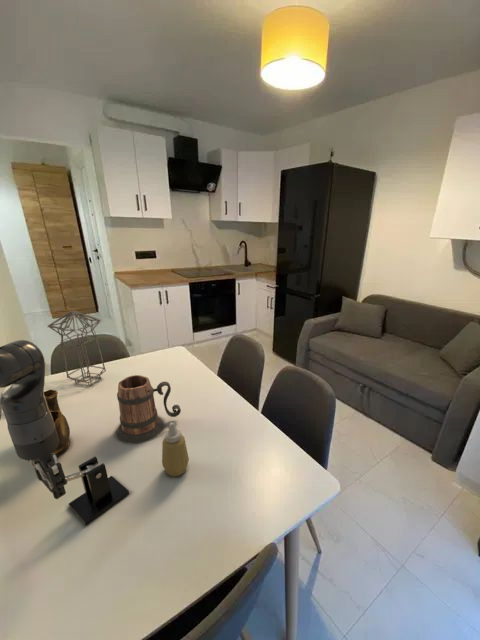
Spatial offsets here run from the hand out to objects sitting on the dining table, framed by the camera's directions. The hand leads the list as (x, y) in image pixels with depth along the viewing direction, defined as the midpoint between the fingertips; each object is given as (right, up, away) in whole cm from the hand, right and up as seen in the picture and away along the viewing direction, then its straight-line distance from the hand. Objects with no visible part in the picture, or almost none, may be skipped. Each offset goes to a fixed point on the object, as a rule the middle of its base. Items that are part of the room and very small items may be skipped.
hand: (52, 486), depth 69 cm
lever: (+2, 0, +4) cm, 5 cm away
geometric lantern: (-34, +17, +70) cm, 80 cm away
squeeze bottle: (+23, -6, +23) cm, 33 cm away
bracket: (+5, -9, +12) cm, 16 cm away
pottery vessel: (-21, -1, +29) cm, 36 cm away
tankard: (+7, +3, +42) cm, 43 cm away
